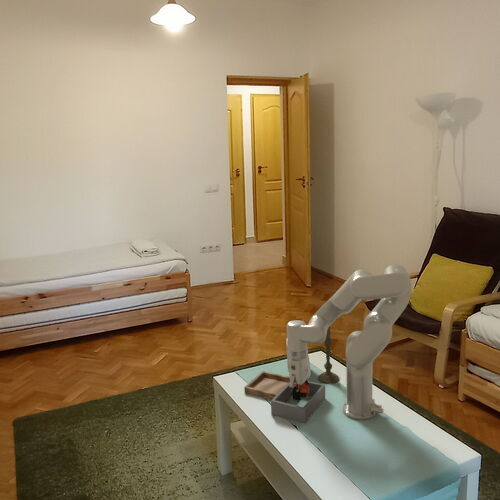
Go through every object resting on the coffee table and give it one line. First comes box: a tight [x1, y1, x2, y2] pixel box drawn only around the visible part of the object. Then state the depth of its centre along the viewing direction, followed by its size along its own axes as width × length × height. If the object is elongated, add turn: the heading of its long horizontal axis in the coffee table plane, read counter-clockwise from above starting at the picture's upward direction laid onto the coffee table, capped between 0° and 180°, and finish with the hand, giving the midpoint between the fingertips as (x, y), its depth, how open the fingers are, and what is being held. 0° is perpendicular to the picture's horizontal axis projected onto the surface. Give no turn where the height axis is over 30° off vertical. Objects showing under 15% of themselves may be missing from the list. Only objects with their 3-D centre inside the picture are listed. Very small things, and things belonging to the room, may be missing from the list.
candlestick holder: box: [317, 325, 340, 385], centre depth 206 cm, size 9×9×30 cm
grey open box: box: [270, 380, 326, 425], centre depth 188 cm, size 14×20×6 cm
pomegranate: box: [291, 381, 310, 403], centre depth 187 cm, size 7×7×10 cm
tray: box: [243, 370, 290, 401], centre depth 204 cm, size 16×16×3 cm
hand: (300, 394), depth 188 cm, fingers closed on pomegranate, 7 cm apart
